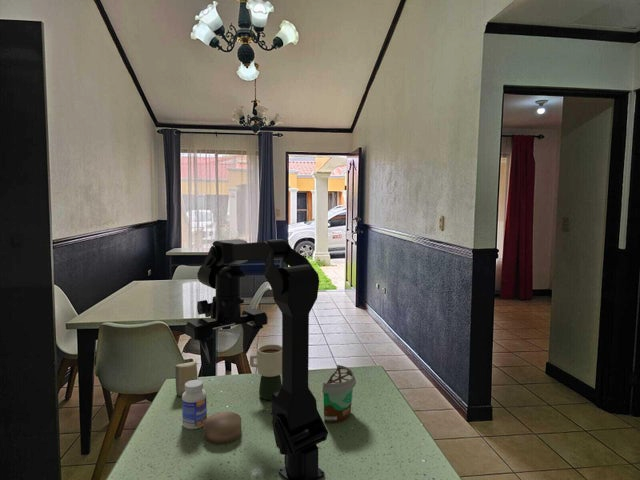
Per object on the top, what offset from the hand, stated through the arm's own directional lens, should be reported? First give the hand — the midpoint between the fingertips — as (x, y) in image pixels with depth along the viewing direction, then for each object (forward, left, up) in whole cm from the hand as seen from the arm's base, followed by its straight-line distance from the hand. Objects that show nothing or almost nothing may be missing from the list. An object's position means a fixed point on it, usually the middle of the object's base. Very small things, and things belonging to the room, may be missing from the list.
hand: (228, 357), depth 99 cm
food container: (-17, -21, -15) cm, 31 cm away
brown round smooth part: (-6, +5, -15) cm, 16 cm away
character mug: (+2, -13, -15) cm, 20 cm away
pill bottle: (+2, +8, -15) cm, 17 cm away
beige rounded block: (+18, +3, -15) cm, 23 cm away
